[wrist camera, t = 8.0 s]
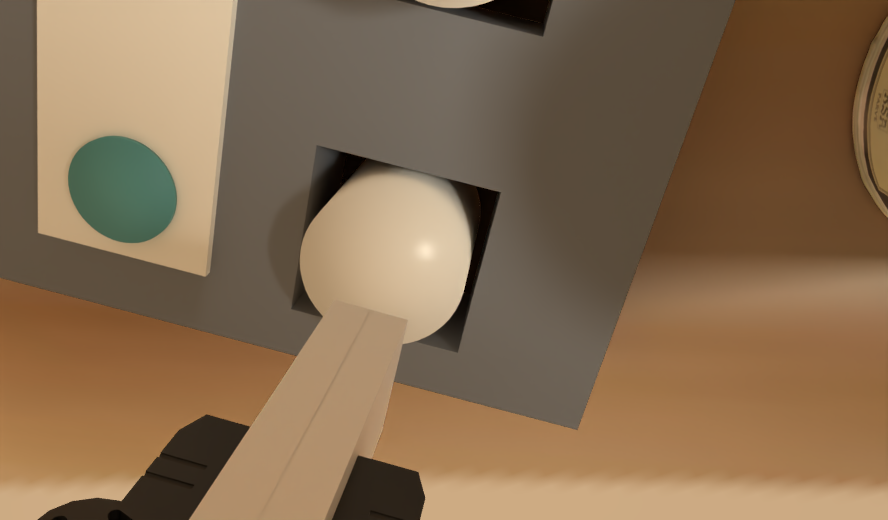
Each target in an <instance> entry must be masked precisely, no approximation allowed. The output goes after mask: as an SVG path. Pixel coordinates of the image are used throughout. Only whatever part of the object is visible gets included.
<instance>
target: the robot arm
mask: <svg viewBox="0 0 888 520" xmlns="http://www.w3.org/2000/svg"><path fill="white" fill-rule="evenodd" d="M407 323H408V320H406V319H403V318H399V317H395V316H392V315H388V314H384V313H381V312H377V311H373V310H370V309H366V308H362V307H359V306H355V305H351V304H348V303H344V302H340V301H337V300H334V301H333V302H332V304H331V306H330V307H329V309H328V310H327V312H326V313H325V315H324V316H323V318H322V319H321V321H320V322H319V324H318V325H317V327H316V328H315V330H314V331H313V333H312V334H311V336H310V337H309V339H308V340H307V342H306V343H305V345H304V346H303V348H302V349H301V351H300V352H299V354H298V355H297V357H296V359H295V360H294V362H293V363H292V365H291V366H290V368H289V369H288V371H287V372H286V374H285V375H284V377H283V378H282V380H281V381H280V383H279V384H278V386H277V387H276V389H275V390H274V392H273V393H272V395H271V396H270V398H269V399H268V401H267V402H266V404H265V405H264V407H263V408H262V410H261V411H260V413H259V415H258V416H257V418H256V419H255V421H254V422H253V424H252V425H251V427H249V426H245V425H242V424H238V423H235V422H231V421H228V420H224V419H220V418H217V417H213V416H210V415H205V416H203V417H201V418H200V419H198V420H196V421H194V422H193V423H191V424H189V425H187V426H185V427H184V428H182V429H180V430H179V431H178V432H177V433H176V434H175V436H174V437H173V438H172V439H171V441H170V442H169V443H168V444H167V446H166V447H165V448H164V449H163V451H162V452H161V454H160V457H157V458H156V459H155V460H154V462H153V463H152V464H151V465H150V467H149V468H148V469H147V470H146V473H145V475H144V476H142V477H141V478H140V479H139V480H138V481H137V483H136V484H135V485H134V486H133V488H132V489H131V490H130V491H129V493H128V494H127V495H126V496H125V498H124V499H123V500H122V501H117V500H110V499H102V498H93V499H86V500H79V501H72V502H69V503H67V504H65V505H62V506H60V507H57V508H55V509H52V510H50V511H48V512H47V513H46V514H44V515H43V516H42V517H40V518H39V519H38V520H420V517H421V513H422V509H423V505H424V501H425V495H424V492H423V488H422V484H421V481H420V477H419V473H418V472H416V471H412V470H409V469H405V468H401V467H398V466H394V465H391V464H387V463H384V462H380V461H377V460H373V459H372V457H373V455H374V452H375V449H376V447H377V444H378V441H379V439H380V436H381V433H382V430H383V426H384V421H385V417H386V413H387V409H388V404H389V400H390V396H391V391H392V387H393V383H394V378H395V374H396V370H397V366H398V361H399V357H400V353H401V348H402V344H403V340H404V336H405V331H406V327H407Z"/></svg>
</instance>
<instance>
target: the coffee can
mask: <svg viewBox="0 0 888 520" xmlns="http://www.w3.org/2000/svg"><path fill="white" fill-rule="evenodd" d="M852 134H853V142H854V150H855V155H856V160H857V163H858V167H859V170H860V175H861V179H862V181H863V183H864V185H865V187H866V188H867V190H868V191H869V193H870V194H871V196H872V198H873V200H874V201H875V203H876V204H877V206H878V207H879V209H880V210H881V211H882V212H883V213H884V215H885V216H886V217H887V218H888V16H887V17H886V19H885V21H884V22H883V24H882V26H881V28H880V29H879V31H878V33H877V35H876V36H875V38H874V39H873V41H872V42H871V45H870V48H869V51H868V54H867V57H866V59H865V62H864V65H863V68H862V71H861V74H860V77H859V81H858V85H857V89H856V94H855V100H854V107H853V124H852Z"/></svg>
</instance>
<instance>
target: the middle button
mask: <svg viewBox="0 0 888 520" xmlns="http://www.w3.org/2000/svg"><path fill="white" fill-rule="evenodd" d="M416 1H418V2H422V3H425V4H428V5H432V6H437V7H443V8H463V7H472V6H476V5H480V4H484V3H487V2H490V1H492V0H416Z"/></svg>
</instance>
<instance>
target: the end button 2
mask: <svg viewBox="0 0 888 520" xmlns="http://www.w3.org/2000/svg"><path fill="white" fill-rule="evenodd" d="M480 215H481V207H480V199H479V195H478V191H477V189H476V186H475V185H471V184H467V183H463V182H459V181H455V180H451V179H447V178H443V177H439V176H435V175H432V174H428V173H424V172H420V171H416V170H412V169H408V168H404V167H400V166H396V165H392V164H389V163H385V162H381V161H377V160H373V159H369V158H367V159H366V160H365V161H364V162H363V163H362V164H361V165H360V166H359V167H358V168H357V170H356V171H355V172H354V173H353V174H352V175H351V177H350V178H349V179H348V180H347V181H346V182H345V183H344V185H343V186H342V187H341V188H340V189H339V190H338V191H337V193H336V194H335V195H334V196H333V197H332V198H331V199H330V201H329V202H328V203H327V204H326V205H325V206H324V207H323V209H322V210H321V211H320V212H319V213H318V214H317V216H316V217H315V218H314V219H313V221H312V222H311V224H310V225H309V227H308V229H307V231H306V233H305V236H304V238H303V241H302V246H301V250H300V271H301V276H302V281H303V284H304V287H305V290H306V292H307V294H308V296H309V298H310V300H311V301H312V303H313V304H314V306H315V307H316V309H317V310H318V311H319V312H320V314H321V315H322V316H324V315H325V313H326V312H327V310H328V309H329V307H330V306H331V304H332V302H333V301H334V300H337V301H340V302H344V303H348V304H351V305H355V306H359V307H362V308H366V309H370V310H373V311H377V312H381V313H384V314H388V315H392V316H395V317H399V318H403V319H406V320H408V323H407V327H406V331H405V336H404V340H403V344H406V343H411V342H414V341H418V340H420V339H422V338H425V337H427V336H429V335H430V334H432V333H434V332H436V331H437V330H438V329H439V328H441V327H442V326H443V325H444V324H445V323H446V322H447V321H448V320H449V319H450V318H451V316H452V315H453V313H454V312H455V311H456V309H457V307H458V305H459V303H460V301H461V298H462V295H463V292H464V288H465V284H466V279H467V275H468V271H469V267H470V262H471V258H472V254H473V249H474V245H475V241H476V237H477V232H478V228H479V223H480Z"/></svg>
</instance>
